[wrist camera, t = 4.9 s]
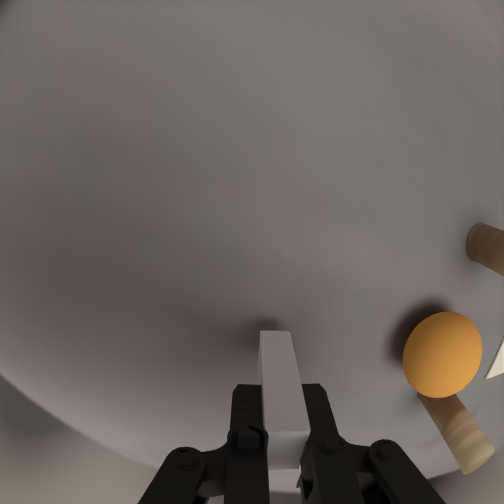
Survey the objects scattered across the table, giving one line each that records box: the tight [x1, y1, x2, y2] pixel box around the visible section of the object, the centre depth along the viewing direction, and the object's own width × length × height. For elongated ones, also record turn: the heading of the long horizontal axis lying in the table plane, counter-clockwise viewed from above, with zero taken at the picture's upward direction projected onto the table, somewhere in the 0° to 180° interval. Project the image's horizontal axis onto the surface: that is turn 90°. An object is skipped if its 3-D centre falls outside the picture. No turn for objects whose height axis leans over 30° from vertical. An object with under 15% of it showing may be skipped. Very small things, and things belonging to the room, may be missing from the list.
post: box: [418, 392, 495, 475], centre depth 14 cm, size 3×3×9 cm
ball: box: [403, 312, 482, 398], centre depth 14 cm, size 6×6×6 cm
